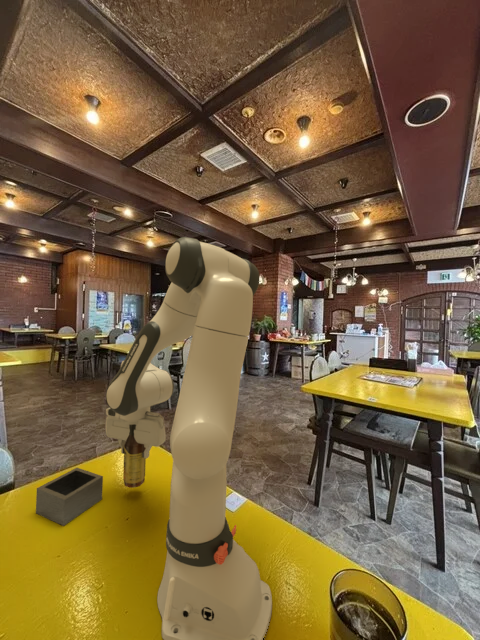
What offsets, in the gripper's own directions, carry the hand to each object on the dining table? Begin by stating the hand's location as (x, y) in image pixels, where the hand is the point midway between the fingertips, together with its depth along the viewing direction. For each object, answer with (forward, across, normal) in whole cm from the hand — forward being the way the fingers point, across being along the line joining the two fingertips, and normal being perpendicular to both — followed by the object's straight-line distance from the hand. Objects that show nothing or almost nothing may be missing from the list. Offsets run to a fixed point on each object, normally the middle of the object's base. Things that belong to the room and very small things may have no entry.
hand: (135, 455), depth 86 cm
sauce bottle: (+9, 0, 0) cm, 9 cm away
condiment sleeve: (+12, +13, +11) cm, 21 cm away
